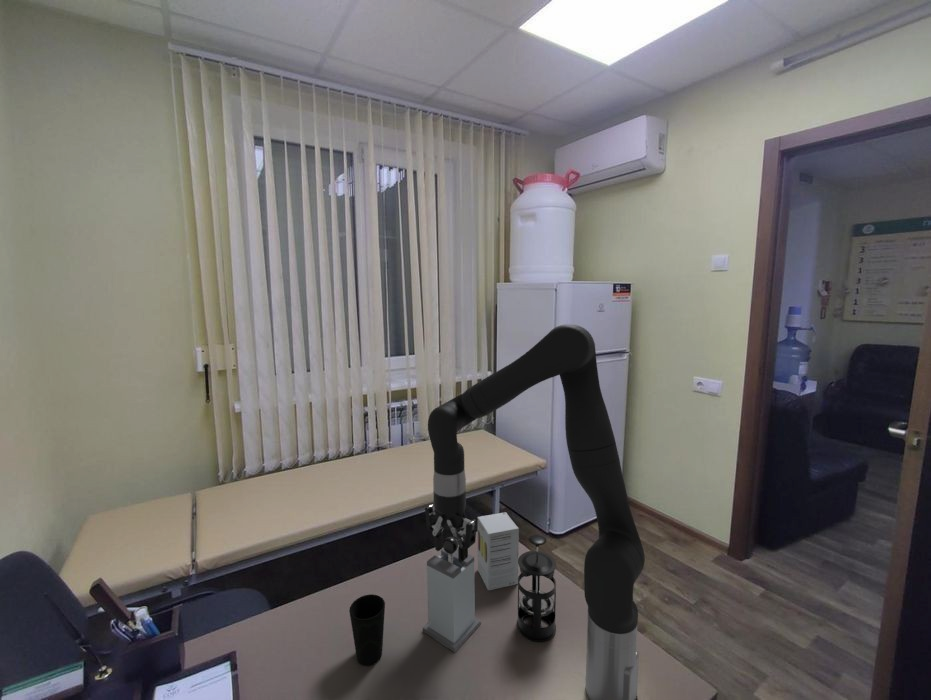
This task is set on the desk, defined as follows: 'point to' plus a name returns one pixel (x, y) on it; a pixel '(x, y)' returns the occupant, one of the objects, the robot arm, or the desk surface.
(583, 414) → the robot arm
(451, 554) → the plunger
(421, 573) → the desk surface
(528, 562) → the french press
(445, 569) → the slotted square pillar
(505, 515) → the supplement box
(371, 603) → the cup
